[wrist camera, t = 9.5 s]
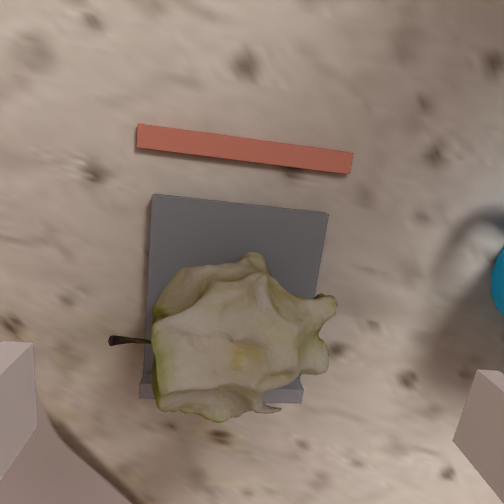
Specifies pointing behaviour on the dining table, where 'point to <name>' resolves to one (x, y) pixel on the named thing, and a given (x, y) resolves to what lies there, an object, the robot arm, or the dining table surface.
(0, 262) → the dining table surface
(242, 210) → the mat
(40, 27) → the dining table surface
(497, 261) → the mug
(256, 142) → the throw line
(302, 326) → the fruit
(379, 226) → the dining table surface
